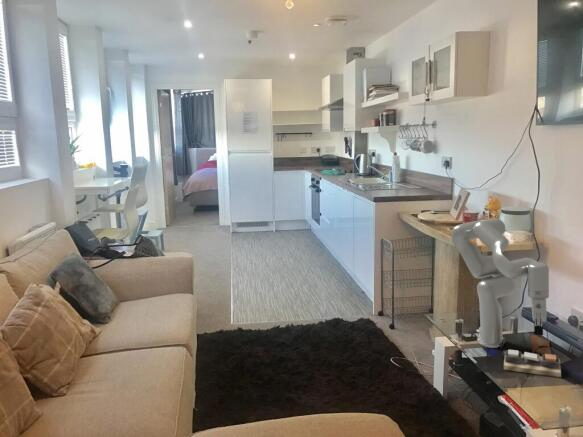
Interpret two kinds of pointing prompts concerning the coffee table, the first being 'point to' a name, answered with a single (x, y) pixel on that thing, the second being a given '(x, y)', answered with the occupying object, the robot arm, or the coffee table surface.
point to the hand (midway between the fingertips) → (538, 334)
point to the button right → (550, 357)
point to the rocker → (531, 356)
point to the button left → (513, 353)
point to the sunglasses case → (539, 345)
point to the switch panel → (532, 365)
